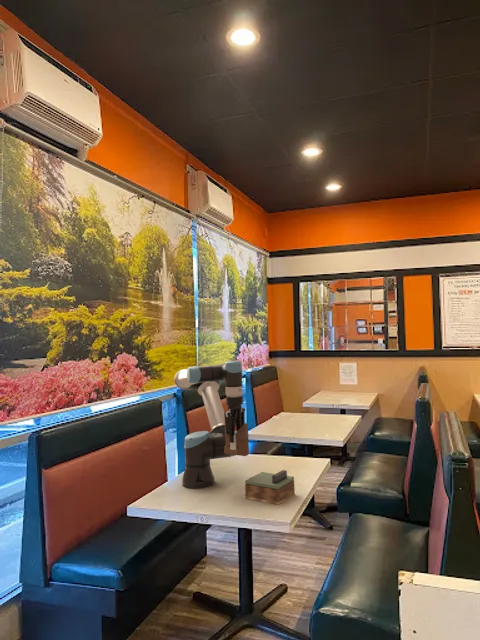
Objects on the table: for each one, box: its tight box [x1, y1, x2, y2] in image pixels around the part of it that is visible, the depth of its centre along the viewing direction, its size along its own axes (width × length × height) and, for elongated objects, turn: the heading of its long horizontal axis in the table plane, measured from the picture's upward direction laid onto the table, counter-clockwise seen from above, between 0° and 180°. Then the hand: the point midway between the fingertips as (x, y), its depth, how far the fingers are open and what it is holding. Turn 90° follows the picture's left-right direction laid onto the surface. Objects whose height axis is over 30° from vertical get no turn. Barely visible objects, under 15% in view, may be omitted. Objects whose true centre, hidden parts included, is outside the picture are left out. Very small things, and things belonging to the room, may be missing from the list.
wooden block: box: [224, 415, 250, 457], centre depth 220 cm, size 4×11×18 cm, turn 64°
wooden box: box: [244, 479, 295, 506], centre depth 210 cm, size 16×14×6 cm
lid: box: [244, 469, 295, 489], centre depth 210 cm, size 16×14×4 cm
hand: (236, 448), depth 220 cm, fingers closed on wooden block, 4 cm apart
